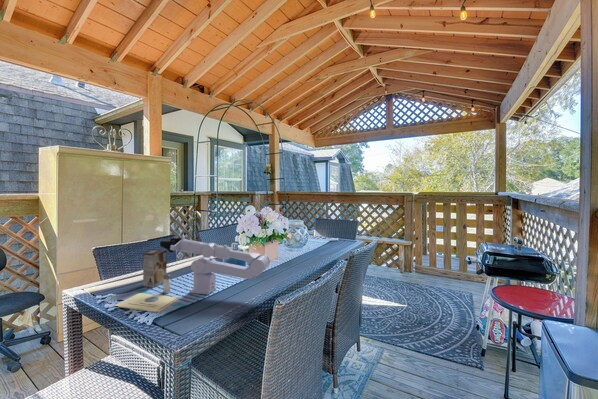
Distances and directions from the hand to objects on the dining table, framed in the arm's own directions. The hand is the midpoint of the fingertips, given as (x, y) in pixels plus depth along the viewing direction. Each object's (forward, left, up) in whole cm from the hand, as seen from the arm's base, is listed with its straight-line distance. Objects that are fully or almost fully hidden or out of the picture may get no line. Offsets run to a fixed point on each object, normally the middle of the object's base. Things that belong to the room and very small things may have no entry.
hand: (165, 242), depth 137 cm
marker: (-5, +6, -22) cm, 23 cm away
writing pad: (-5, +18, -22) cm, 29 cm away
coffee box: (+7, -2, -22) cm, 23 cm away
